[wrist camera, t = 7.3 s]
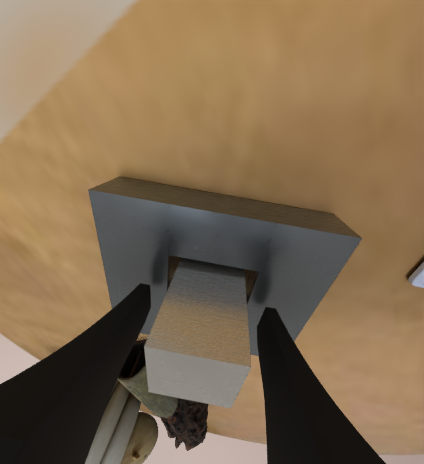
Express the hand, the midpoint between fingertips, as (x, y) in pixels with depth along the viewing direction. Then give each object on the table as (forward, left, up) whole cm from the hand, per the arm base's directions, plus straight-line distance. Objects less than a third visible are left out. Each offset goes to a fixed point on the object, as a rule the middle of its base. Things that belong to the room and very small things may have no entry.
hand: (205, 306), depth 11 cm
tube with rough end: (+2, +20, -4) cm, 21 cm away
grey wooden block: (0, 0, -4) cm, 4 cm away
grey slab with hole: (0, 0, -4) cm, 4 cm away
